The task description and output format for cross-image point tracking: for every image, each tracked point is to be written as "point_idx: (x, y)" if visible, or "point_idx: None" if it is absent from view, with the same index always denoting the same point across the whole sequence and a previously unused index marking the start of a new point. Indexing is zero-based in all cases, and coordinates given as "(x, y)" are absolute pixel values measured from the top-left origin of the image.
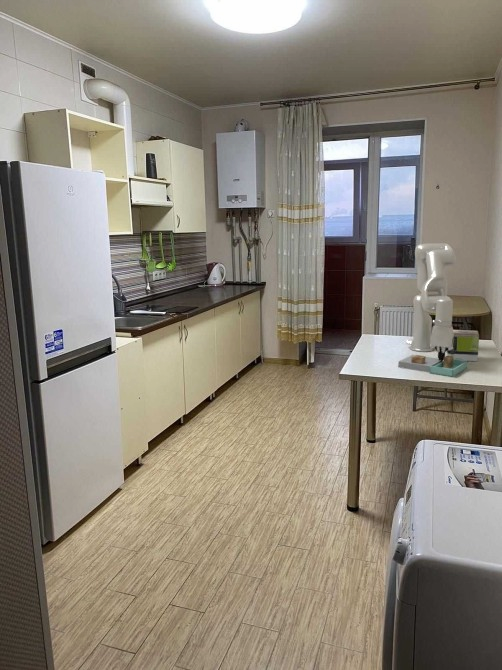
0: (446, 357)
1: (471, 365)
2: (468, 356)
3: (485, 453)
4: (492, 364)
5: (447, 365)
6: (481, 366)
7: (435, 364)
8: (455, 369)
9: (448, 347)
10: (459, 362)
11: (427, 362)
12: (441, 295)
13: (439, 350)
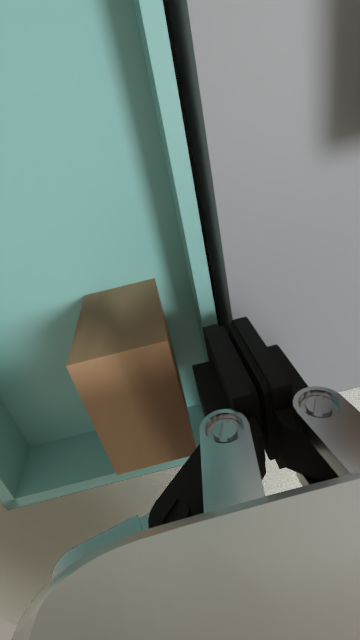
0: (144, 377)
1: (69, 514)
2: None
3: None
4: (8, 603)
5: (104, 302)
6: (6, 541)
7: (209, 179)
8: None
9: (77, 560)
10: (85, 460)
11: (332, 132)
12: None
13: (305, 421)
